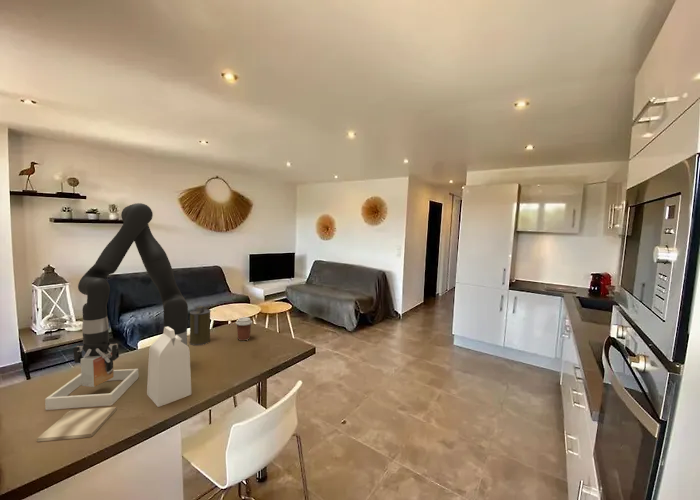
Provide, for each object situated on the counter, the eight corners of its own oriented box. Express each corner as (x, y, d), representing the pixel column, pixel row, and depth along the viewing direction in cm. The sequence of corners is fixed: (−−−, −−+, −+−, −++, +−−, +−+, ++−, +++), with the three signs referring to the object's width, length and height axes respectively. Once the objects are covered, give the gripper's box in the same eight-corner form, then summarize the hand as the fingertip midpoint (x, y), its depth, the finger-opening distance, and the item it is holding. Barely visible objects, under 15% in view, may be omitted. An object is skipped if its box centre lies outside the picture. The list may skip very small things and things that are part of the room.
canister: (194, 338, 174) (194, 304, 172) (212, 338, 175) (213, 304, 173) (185, 345, 163) (186, 309, 161) (206, 345, 164) (206, 309, 162)
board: (116, 409, 106) (116, 406, 106) (91, 436, 92) (91, 433, 92) (69, 413, 103) (69, 410, 103) (36, 441, 89) (36, 438, 89)
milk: (146, 394, 116) (146, 328, 114) (179, 383, 125) (179, 321, 123) (158, 407, 108) (157, 336, 107) (191, 394, 117) (191, 329, 115)
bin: (138, 377, 128) (138, 368, 127) (111, 405, 108) (111, 394, 108) (83, 380, 124) (83, 371, 123) (45, 410, 104) (45, 398, 104)
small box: (93, 387, 111) (92, 360, 110) (81, 386, 112) (79, 358, 111) (114, 377, 119) (113, 351, 118) (102, 375, 120) (101, 349, 119)
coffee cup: (242, 343, 169) (242, 322, 168) (231, 339, 174) (232, 319, 173) (255, 338, 177) (255, 318, 176) (245, 335, 182) (245, 315, 181)
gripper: (122, 325, 119) (124, 365, 121) (79, 327, 116) (82, 368, 117) (112, 331, 112) (114, 374, 113) (66, 334, 109) (68, 378, 110)
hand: (97, 371), depth 115 cm, fingers closed on small box, 7 cm apart
